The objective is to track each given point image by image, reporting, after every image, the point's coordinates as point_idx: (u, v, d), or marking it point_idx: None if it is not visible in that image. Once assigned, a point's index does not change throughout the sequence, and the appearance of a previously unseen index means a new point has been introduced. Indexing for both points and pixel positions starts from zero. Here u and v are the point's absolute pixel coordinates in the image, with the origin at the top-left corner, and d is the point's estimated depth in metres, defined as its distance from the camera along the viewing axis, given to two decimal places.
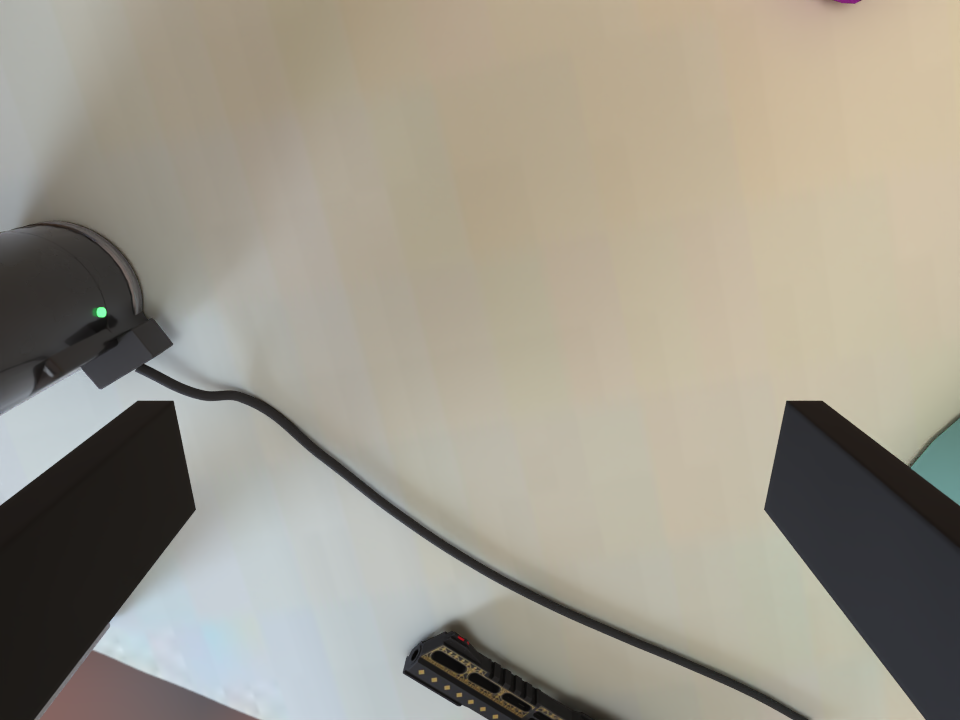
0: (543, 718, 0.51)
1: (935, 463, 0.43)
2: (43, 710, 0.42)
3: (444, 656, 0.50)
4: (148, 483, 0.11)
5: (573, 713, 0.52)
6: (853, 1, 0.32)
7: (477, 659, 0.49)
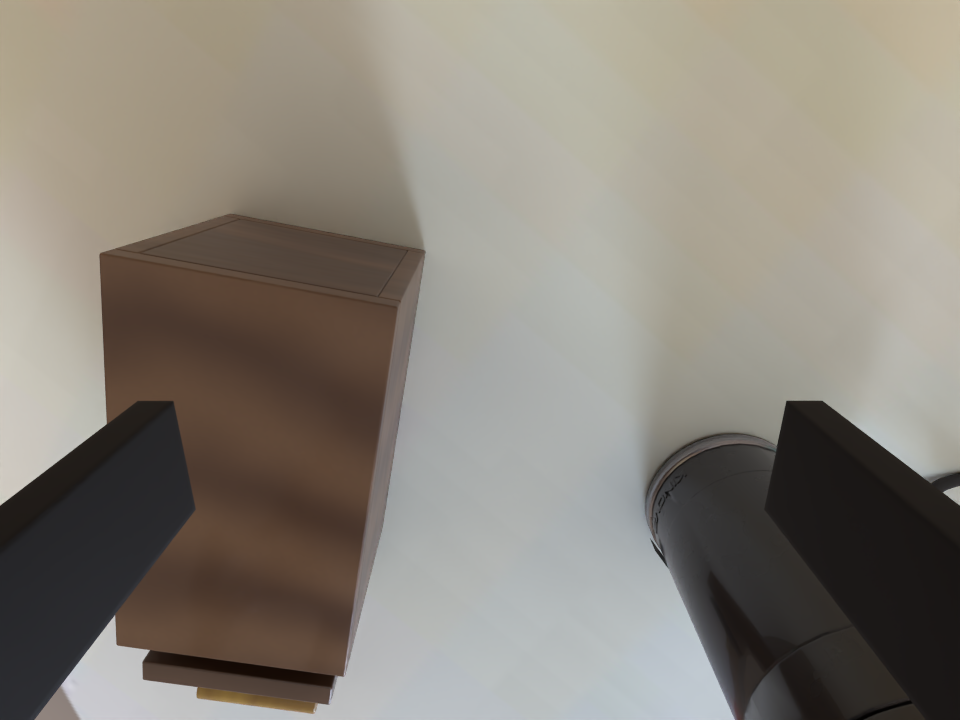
0: None
1: None
2: None
3: None
4: (148, 483, 0.11)
5: None
6: None
7: None
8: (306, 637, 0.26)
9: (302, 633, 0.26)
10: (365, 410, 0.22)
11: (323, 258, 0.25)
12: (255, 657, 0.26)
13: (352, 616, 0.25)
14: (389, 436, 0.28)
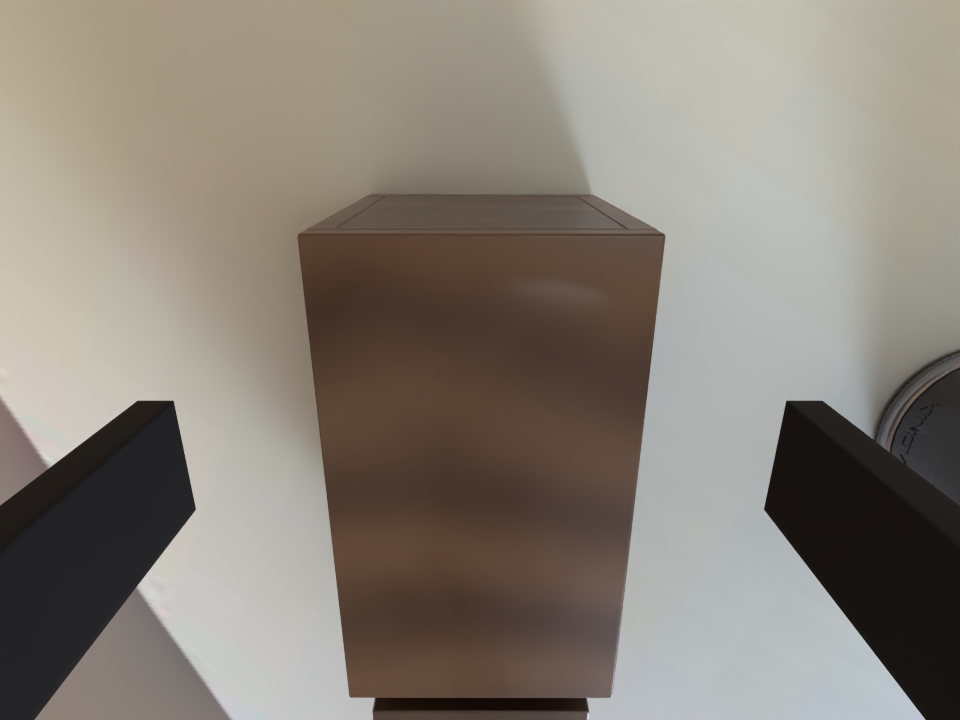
0: None
1: None
2: None
3: None
4: (148, 483, 0.11)
5: None
6: None
7: None
8: (566, 659, 0.22)
9: (561, 654, 0.22)
10: (629, 374, 0.17)
11: (515, 211, 0.21)
12: (507, 689, 0.22)
13: (619, 626, 0.21)
14: None
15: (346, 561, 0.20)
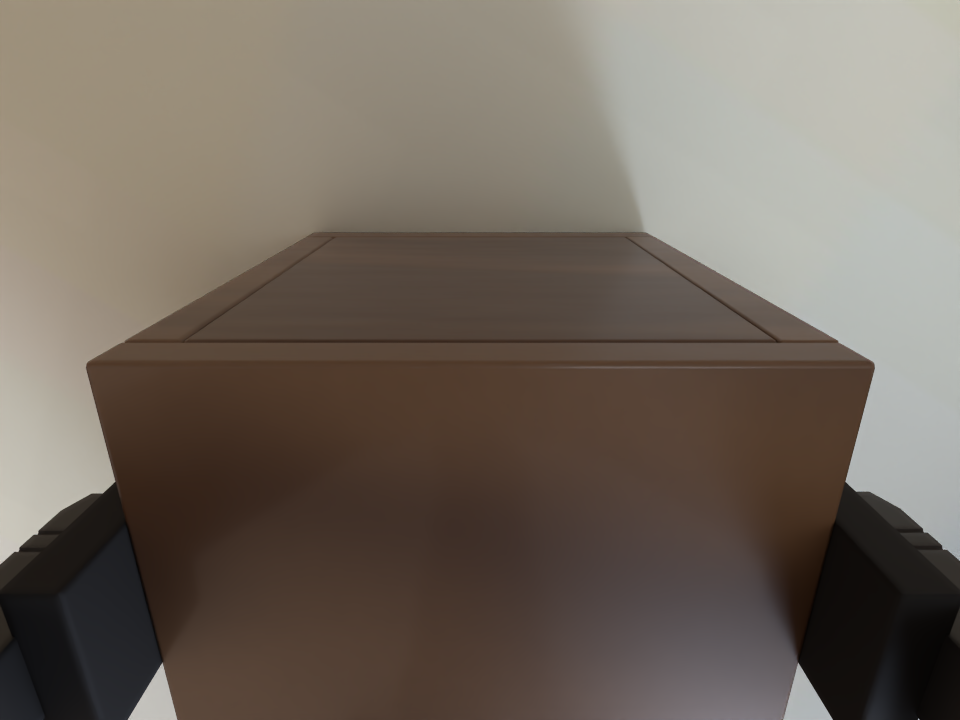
0: None
1: None
2: None
3: None
4: None
5: None
6: None
7: None
8: None
9: None
10: (771, 617, 0.09)
11: (537, 275, 0.12)
12: None
13: None
14: None
15: None
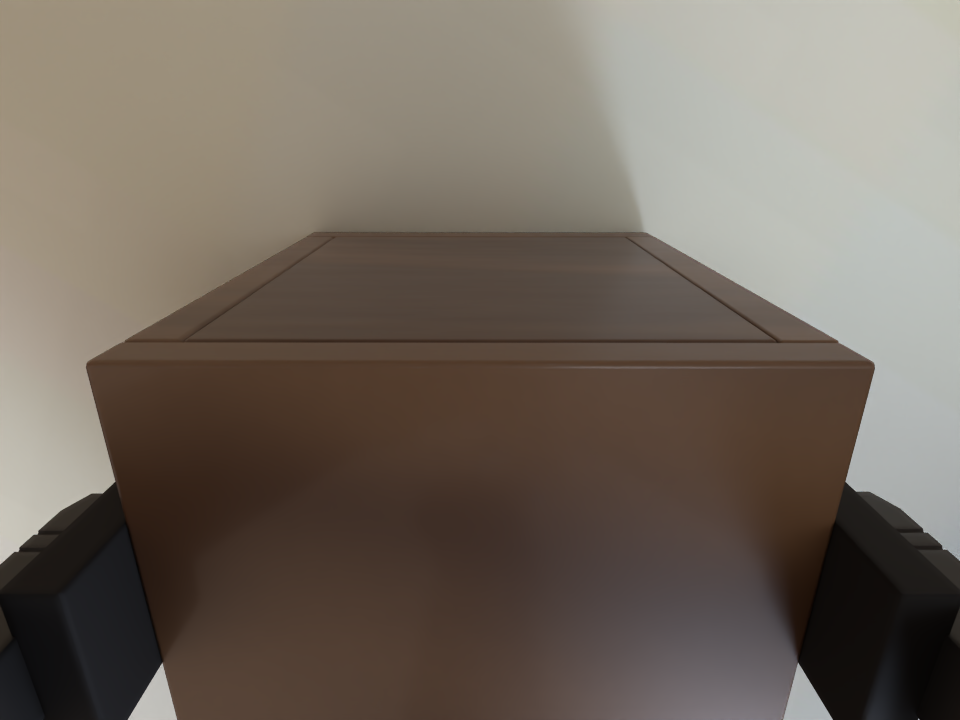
0: None
1: None
2: None
3: None
4: None
5: None
6: None
7: None
8: None
9: None
10: (770, 617, 0.09)
11: (537, 275, 0.12)
12: None
13: None
14: None
15: None
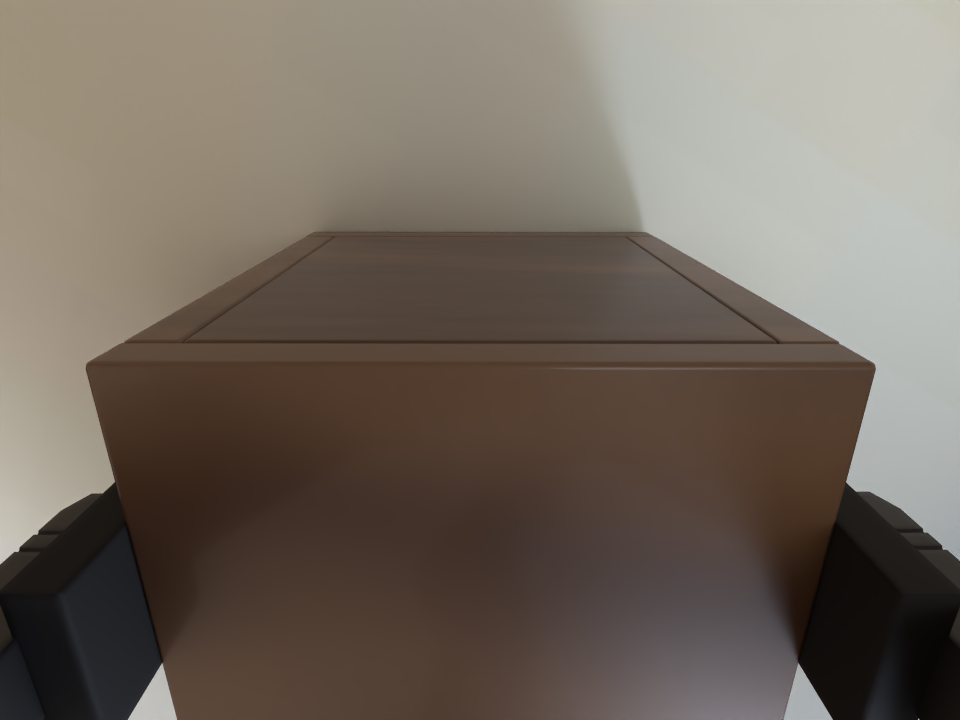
0: None
1: None
2: None
3: None
4: None
5: None
6: None
7: None
8: None
9: None
10: (771, 618, 0.09)
11: (538, 275, 0.12)
12: None
13: None
14: None
15: None
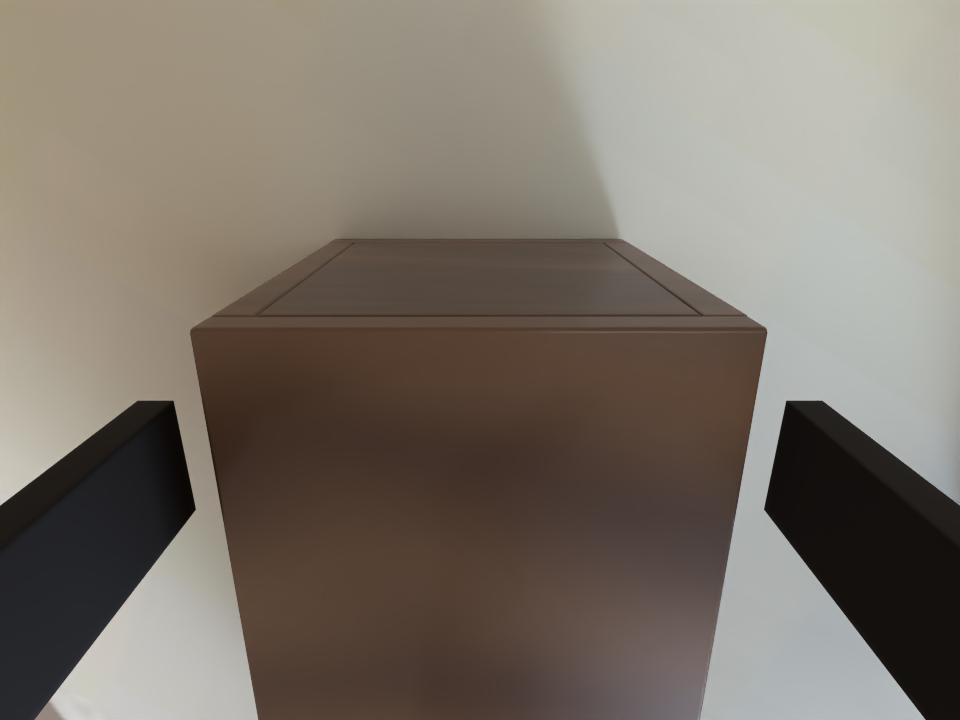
0: None
1: None
2: None
3: None
4: (148, 483, 0.11)
5: None
6: None
7: None
8: None
9: None
10: (702, 529, 0.12)
11: (525, 271, 0.15)
12: None
13: None
14: None
15: None
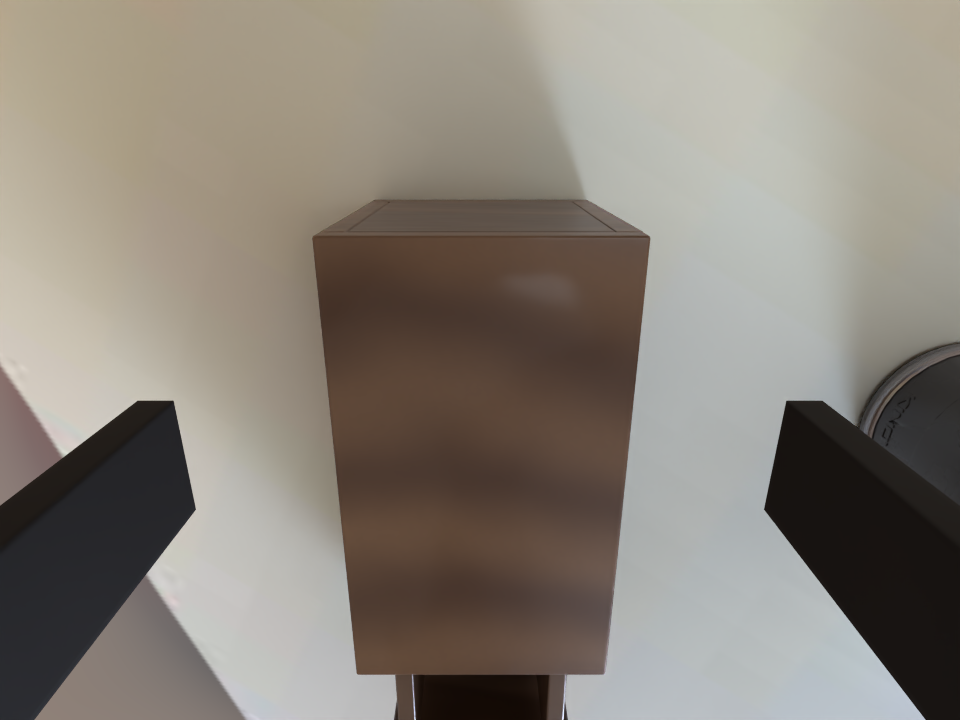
0: None
1: None
2: None
3: None
4: (148, 483, 0.11)
5: None
6: None
7: None
8: (561, 636, 0.23)
9: (557, 632, 0.23)
10: (618, 365, 0.19)
11: (512, 215, 0.22)
12: (506, 666, 0.24)
13: (611, 605, 0.22)
14: None
15: (355, 543, 0.21)
